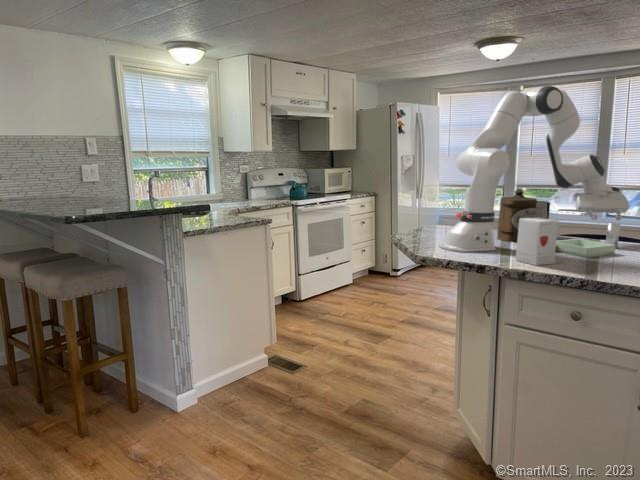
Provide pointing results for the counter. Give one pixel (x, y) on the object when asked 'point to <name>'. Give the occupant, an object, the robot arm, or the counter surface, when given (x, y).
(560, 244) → the tray
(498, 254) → the counter surface
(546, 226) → the supplement box
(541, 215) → the coffee box
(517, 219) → the wooden container
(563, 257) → the counter surface
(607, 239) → the clear glass cylinder
